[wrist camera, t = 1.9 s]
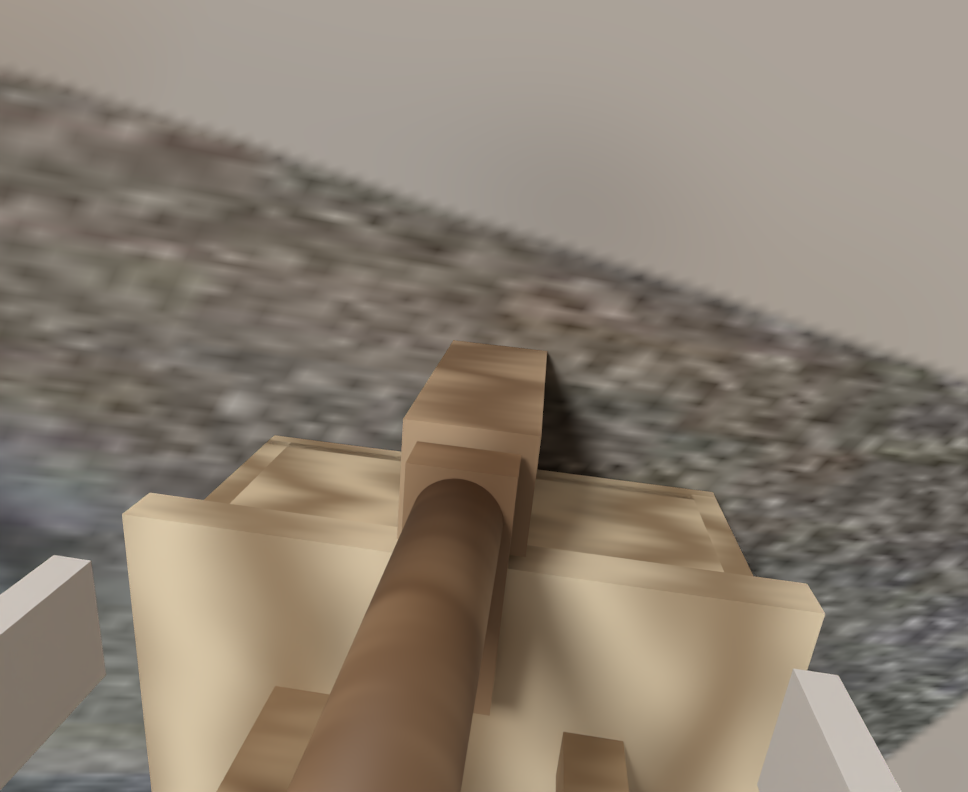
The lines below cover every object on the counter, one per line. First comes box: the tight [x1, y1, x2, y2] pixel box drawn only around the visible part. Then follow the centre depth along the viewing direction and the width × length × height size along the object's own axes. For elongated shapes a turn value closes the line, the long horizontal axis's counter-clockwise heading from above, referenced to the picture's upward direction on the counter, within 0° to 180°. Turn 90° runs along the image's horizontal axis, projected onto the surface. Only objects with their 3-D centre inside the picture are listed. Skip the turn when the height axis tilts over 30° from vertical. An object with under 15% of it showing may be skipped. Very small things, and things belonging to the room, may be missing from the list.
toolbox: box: [204, 340, 753, 576], centre depth 26 cm, size 20×18×10 cm
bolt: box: [287, 441, 521, 792], centre depth 14 cm, size 3×8×12 cm, turn 175°
